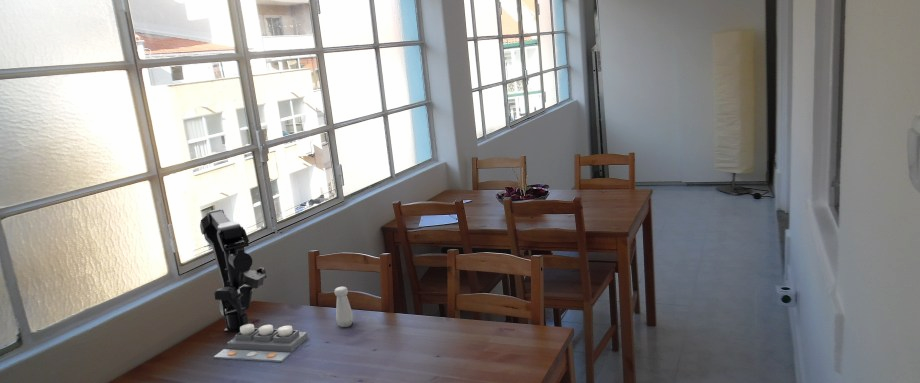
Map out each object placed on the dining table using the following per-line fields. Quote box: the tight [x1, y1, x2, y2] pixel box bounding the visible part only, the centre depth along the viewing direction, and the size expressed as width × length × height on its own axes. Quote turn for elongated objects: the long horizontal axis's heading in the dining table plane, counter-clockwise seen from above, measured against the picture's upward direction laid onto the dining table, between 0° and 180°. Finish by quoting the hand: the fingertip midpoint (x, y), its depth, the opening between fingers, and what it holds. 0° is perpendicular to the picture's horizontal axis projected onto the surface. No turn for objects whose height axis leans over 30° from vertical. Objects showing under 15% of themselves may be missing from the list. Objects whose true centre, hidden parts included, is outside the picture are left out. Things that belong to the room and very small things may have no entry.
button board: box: [226, 327, 309, 353], centre depth 220 cm, size 23×10×4 cm, turn 73°
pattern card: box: [213, 348, 292, 363], centre depth 212 cm, size 24×5×1 cm, turn 73°
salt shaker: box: [334, 286, 355, 328], centre depth 228 cm, size 6×6×13 cm
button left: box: [240, 323, 255, 335], centre depth 222 cm, size 4×4×2 cm
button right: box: [277, 325, 294, 337], centre depth 217 cm, size 4×4×2 cm
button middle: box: [258, 324, 274, 336], centre depth 219 cm, size 4×4×2 cm
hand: (244, 310), depth 220 cm, fingers open, 4 cm apart
